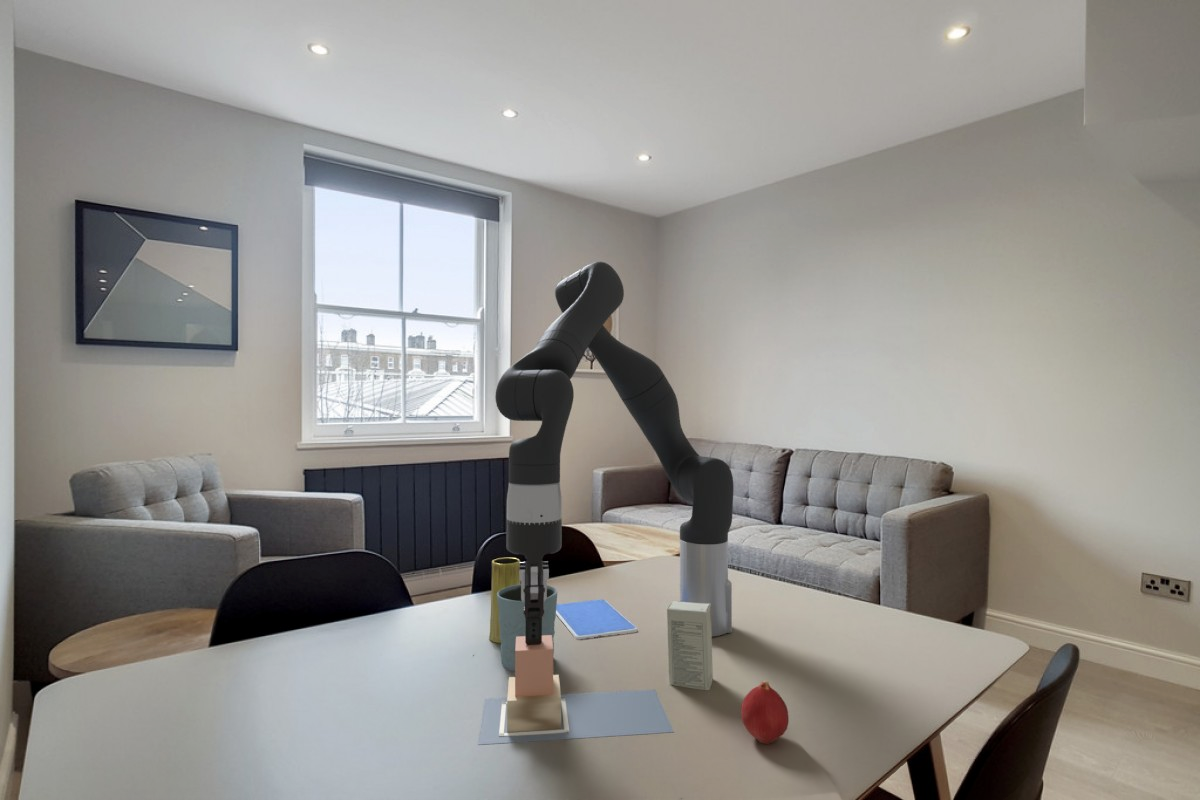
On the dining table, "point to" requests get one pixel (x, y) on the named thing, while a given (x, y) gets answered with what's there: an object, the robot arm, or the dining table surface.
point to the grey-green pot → (520, 620)
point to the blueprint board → (583, 718)
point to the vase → (502, 577)
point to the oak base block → (533, 709)
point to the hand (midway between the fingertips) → (533, 642)
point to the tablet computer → (593, 619)
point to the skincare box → (690, 645)
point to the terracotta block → (534, 667)
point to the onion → (764, 713)
